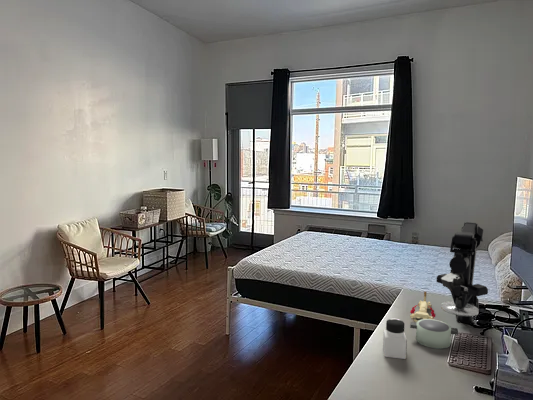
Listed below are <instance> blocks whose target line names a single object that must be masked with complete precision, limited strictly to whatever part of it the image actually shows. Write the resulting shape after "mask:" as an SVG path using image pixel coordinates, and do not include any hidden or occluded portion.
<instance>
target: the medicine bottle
mask: <svg viewBox="0 0 533 400" xmlns="http://www.w3.org/2000/svg"><path fill="white" fill-rule="evenodd" d="M385 324H386V325H385V326H386V327H385V328H384V329H383V335H382V336H383V337H382V340H383V341H382V349H383V354H384V355H383V356H384V357H385V358H394V359H400V360H401V359H402V360H403V359H404V360H405V359H407V347H408V343H407V342H408V338H407V336H406V333H405V322H404V321H403V320H401V319H399V318H394V317H393V318H388V319H387V320H386V323H385Z"/></svg>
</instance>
